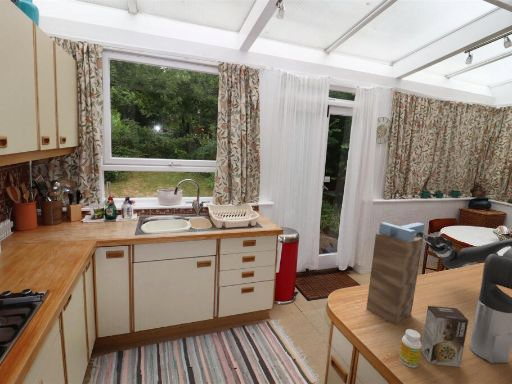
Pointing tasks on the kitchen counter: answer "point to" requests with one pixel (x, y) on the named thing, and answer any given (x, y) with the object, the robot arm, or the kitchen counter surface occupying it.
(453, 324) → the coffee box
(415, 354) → the supplement bottle
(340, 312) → the kitchen counter surface
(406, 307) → the pedestal
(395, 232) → the t bar
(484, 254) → the robot arm
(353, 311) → the kitchen counter surface
